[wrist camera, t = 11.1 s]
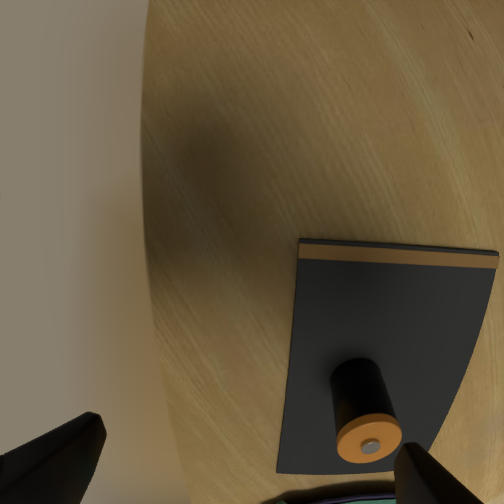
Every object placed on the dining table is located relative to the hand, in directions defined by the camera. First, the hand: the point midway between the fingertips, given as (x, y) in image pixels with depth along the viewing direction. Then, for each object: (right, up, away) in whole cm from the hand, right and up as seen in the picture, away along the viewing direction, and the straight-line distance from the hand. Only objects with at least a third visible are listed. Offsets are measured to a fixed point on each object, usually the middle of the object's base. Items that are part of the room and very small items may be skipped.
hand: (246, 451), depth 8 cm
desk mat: (+9, -4, +12) cm, 15 cm away
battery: (+7, -3, +11) cm, 14 cm away
